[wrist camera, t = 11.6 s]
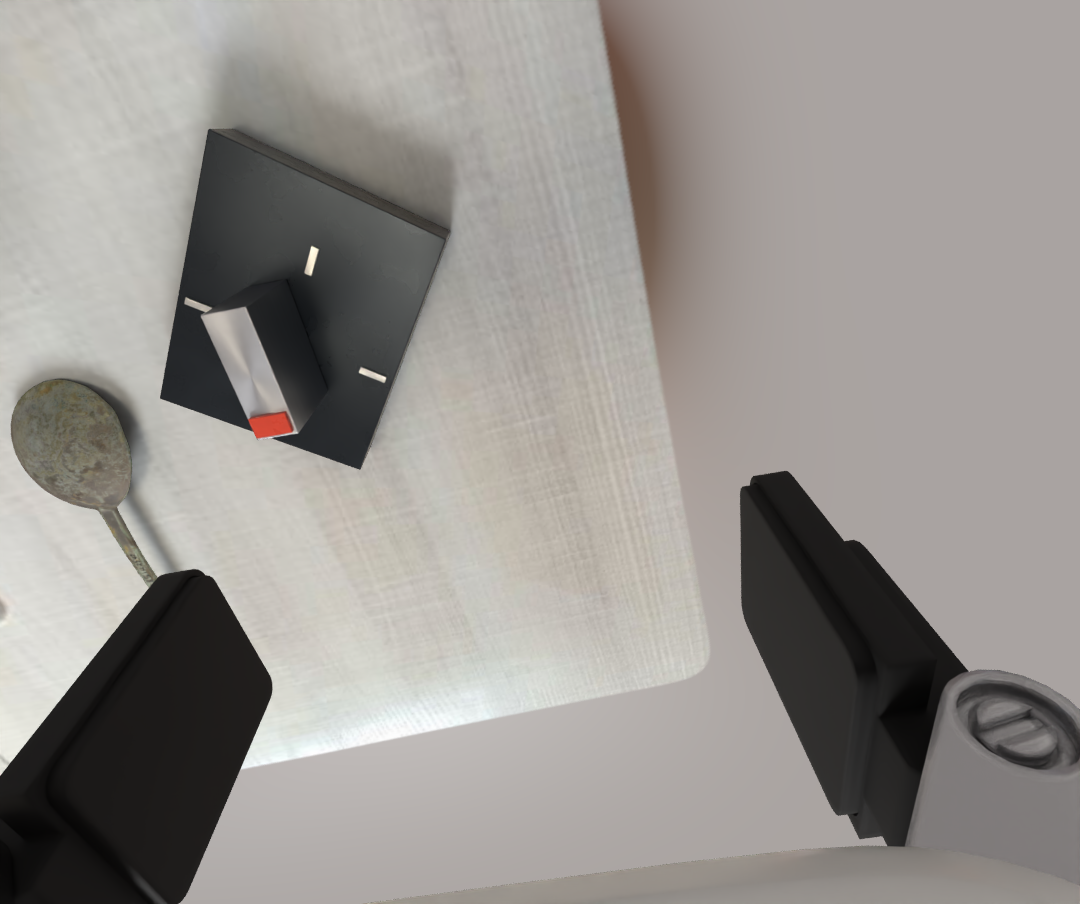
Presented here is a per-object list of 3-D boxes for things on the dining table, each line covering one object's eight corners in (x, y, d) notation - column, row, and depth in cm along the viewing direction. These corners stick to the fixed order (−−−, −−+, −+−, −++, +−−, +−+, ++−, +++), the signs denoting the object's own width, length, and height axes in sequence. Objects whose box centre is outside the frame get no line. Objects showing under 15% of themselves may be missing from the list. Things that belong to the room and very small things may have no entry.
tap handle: (247, 286, 29) (196, 317, 24) (286, 279, 29) (243, 308, 24) (292, 397, 32) (255, 443, 27) (328, 391, 32) (296, 435, 27)
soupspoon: (118, 367, 34) (12, 381, 35) (76, 388, 31) (-39, 404, 32) (255, 648, 44) (171, 656, 44) (233, 684, 41) (144, 693, 41)
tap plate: (232, 128, 28) (206, 128, 26) (451, 231, 31) (446, 240, 28) (182, 380, 34) (157, 399, 32) (369, 449, 36) (359, 471, 34)
